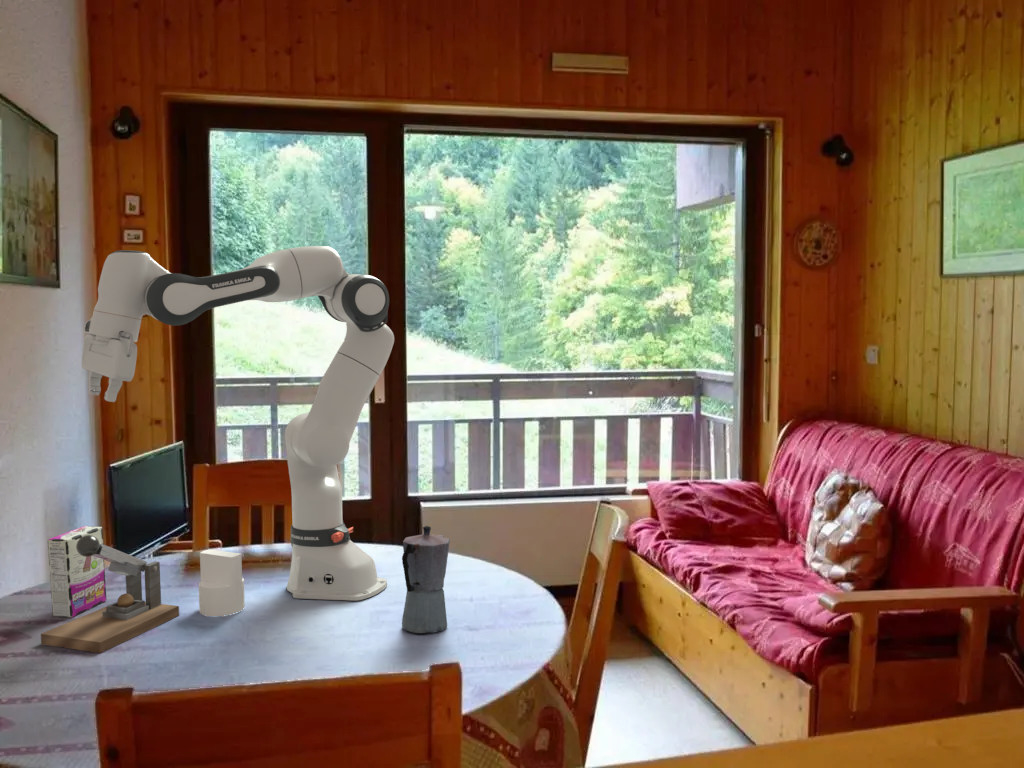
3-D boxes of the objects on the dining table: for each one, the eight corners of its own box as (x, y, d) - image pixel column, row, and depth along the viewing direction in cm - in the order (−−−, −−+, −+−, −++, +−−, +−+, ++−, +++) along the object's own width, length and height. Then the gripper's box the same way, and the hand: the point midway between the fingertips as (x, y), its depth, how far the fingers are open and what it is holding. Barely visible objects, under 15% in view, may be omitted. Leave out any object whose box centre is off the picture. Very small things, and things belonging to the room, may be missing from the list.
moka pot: (462, 618, 177) (461, 520, 175) (430, 645, 162) (429, 539, 161) (419, 613, 180) (418, 517, 178) (384, 639, 165) (382, 535, 164)
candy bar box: (86, 599, 190) (83, 525, 188) (107, 601, 189) (104, 526, 187) (49, 617, 179) (46, 538, 177) (71, 618, 178) (67, 539, 176)
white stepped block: (253, 605, 185) (252, 550, 184) (223, 619, 177) (221, 561, 176) (221, 600, 189) (219, 545, 188) (189, 613, 181) (188, 556, 180)
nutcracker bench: (179, 615, 179) (177, 563, 178) (100, 653, 159) (97, 594, 158) (124, 608, 184) (122, 557, 183) (41, 644, 164) (38, 586, 163)
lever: (143, 579, 176) (150, 557, 178) (84, 557, 162) (92, 533, 163) (127, 577, 177) (134, 555, 179) (67, 555, 163) (75, 531, 165)
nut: (137, 607, 175) (136, 592, 175) (126, 611, 173) (125, 597, 172) (125, 605, 176) (124, 590, 176) (114, 610, 174) (113, 595, 173)
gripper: (150, 336, 168) (136, 407, 168) (113, 328, 183) (101, 393, 183) (116, 330, 164) (102, 403, 164) (82, 322, 179) (69, 389, 179)
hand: (101, 397), depth 173 cm, fingers open, 8 cm apart
